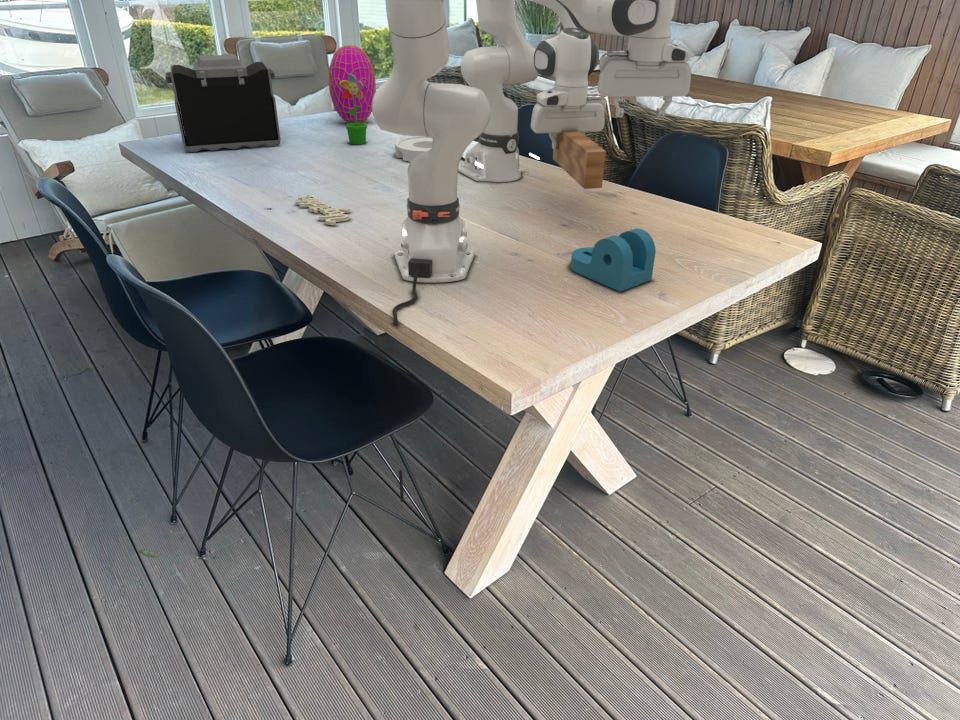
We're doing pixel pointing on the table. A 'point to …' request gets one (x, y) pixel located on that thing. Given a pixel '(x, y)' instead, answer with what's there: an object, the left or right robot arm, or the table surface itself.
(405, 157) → the ashtray
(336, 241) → the table surface
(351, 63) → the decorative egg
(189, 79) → the electronic device
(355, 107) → the potted flower
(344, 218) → the decorative sign
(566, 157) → the bar
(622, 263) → the camera mount
